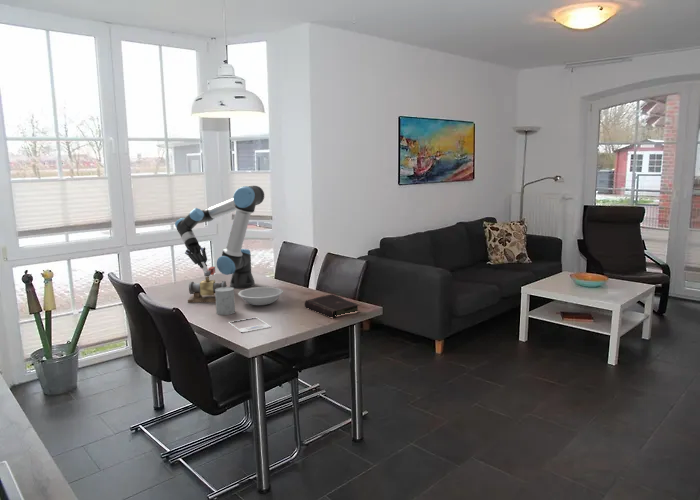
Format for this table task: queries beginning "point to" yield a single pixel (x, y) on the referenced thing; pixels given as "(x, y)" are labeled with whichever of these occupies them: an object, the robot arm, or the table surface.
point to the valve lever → (210, 271)
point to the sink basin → (260, 295)
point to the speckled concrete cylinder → (225, 300)
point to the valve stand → (204, 290)
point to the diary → (331, 305)
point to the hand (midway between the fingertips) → (206, 271)
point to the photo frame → (252, 326)
